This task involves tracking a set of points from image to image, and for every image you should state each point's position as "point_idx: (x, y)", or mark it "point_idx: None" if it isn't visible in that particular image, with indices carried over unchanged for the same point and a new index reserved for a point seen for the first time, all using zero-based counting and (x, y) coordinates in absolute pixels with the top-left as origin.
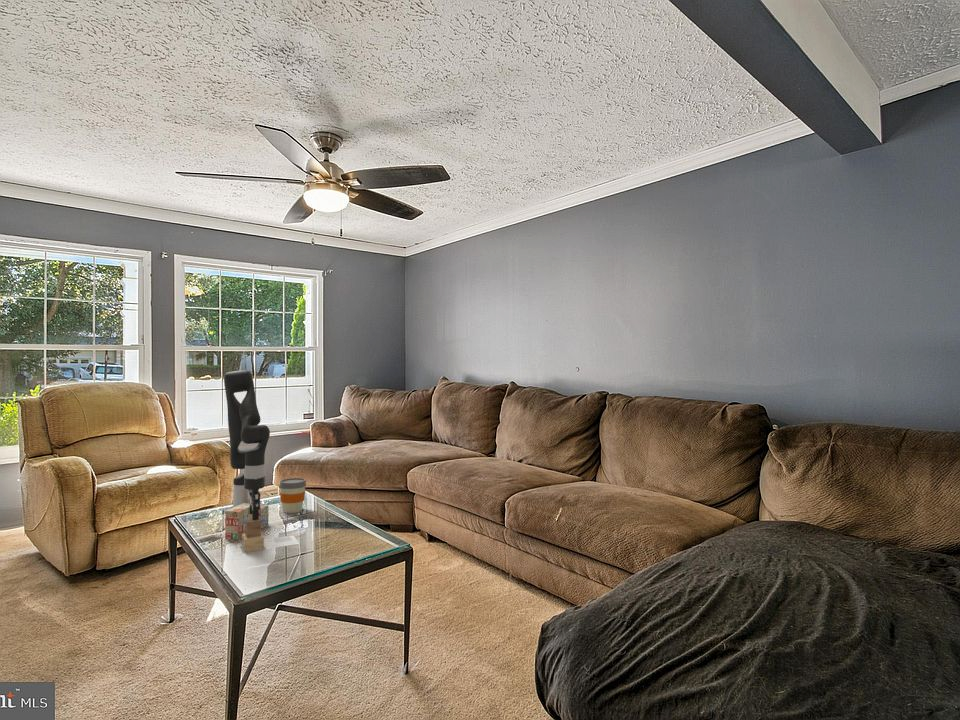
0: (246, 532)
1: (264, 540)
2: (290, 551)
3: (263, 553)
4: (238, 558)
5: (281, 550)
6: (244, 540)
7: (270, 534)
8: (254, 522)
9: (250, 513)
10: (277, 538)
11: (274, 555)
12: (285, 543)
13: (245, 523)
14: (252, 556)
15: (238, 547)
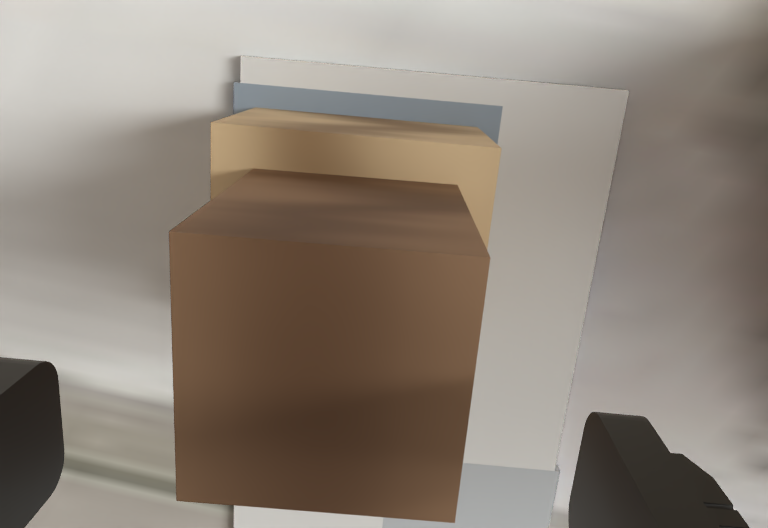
0: (298, 186)
1: (541, 383)
2: (85, 501)
3: (148, 284)
4: (108, 14)
5: (154, 445)
6: (216, 123)
7: (742, 479)
8: (183, 371)
9: (592, 430)
10: (520, 501)
11: (35, 359)
12: (310, 522)
13: (474, 228)
14: (104, 167)
15: (471, 82)
